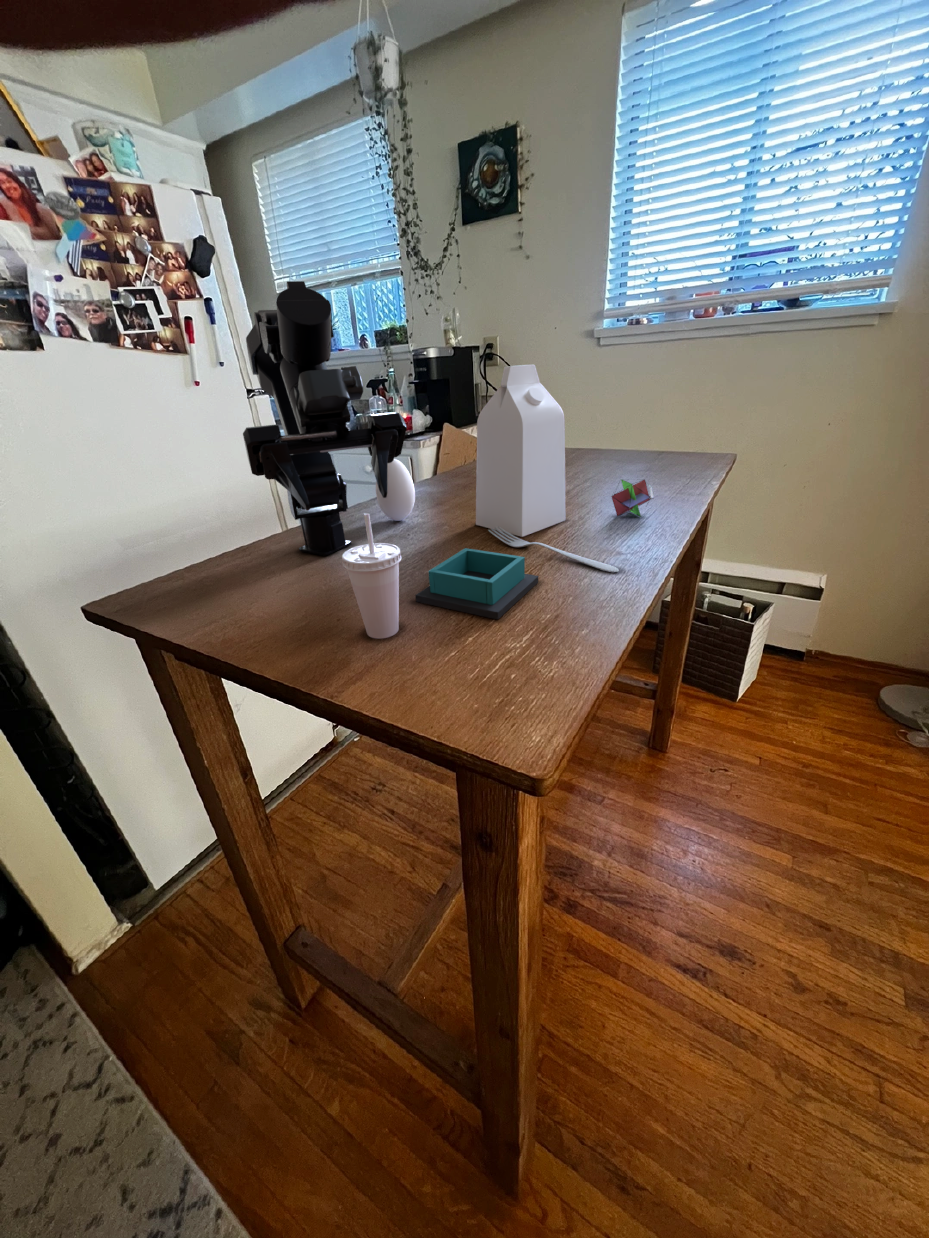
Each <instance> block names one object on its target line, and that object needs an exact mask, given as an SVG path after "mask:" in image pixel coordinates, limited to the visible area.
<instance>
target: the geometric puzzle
mask: <svg viewBox="0 0 929 1238" xmlns="http://www.w3.org/2000/svg"><path fill="white" fill-rule="evenodd" d="M620 482H621V485H622V489H621V490H619V491H618V492H617V489H618V488H615V490H614V493H612V495H611V496H610V498H611V501H612V504H613V507H614V510H615V514H616V517H620V518H621V517H623V518H625V517H626V516H623V515H625V514H627V513H632V514H633V515H636V517H638V518H642V515H641V512H640V508H639V507H641V506H642V505H643V504H646V503H647V504H646V506H648V505H649V503H650V501H652V500H654V498H655V497H654V489H653V487H652V486H651V485H650V483H649V482H648V481H647V480H646V478H644V479H640V480H638V481H637V482H633V483H632V482H629V481H627V480H625V479H623V478H620V480H619V482H618V483H617V486H616V487H619V485H620ZM648 487H649V488H648ZM649 489H650V490H649Z"/></svg>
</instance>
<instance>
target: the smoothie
mask: <svg viewBox="0 0 929 1238" xmlns="http://www.w3.org/2000/svg"><path fill="white" fill-rule="evenodd" d="M370 515H371V514H370V513H368V512H367V513H364V514H363V518H364V523H365V530H366V538H367V543H365V544H360V545H357V546H353V547H351V548H349V549H347V550H345V551H344V552H343V553H342V555H341V561H342V563H341V564H342V567H343V568H345V570H346V572H347V574H348V577H349V581H350V584H351V587H352V590H353V593H354V597H355V600H356V603H357V606H358V609H359V612H360V616H361V619H362V622H363V625H364V628H365V629H364V630H365V631H366V635H367V636H368V637H370V638H372V639H386V638H387V639H388V638H390V637H392V636H395V635H396V634H397V633H398V632H399V625H400V621H399V620H400V618H399V617H400V616H399V615H400V614H399V613H400V612H399V611H400V610H399V607H400V605H399V602H400V600H399V599H400V594H399V593H400V590H399V589H400V588H399V587H400V564H399V563H400V562H401V560H402V555H401V554H402V553H401V548H400V547H399V546H397V545H395V544H392V543H387V542H374V536H373V530H372V523H371V516H370Z"/></svg>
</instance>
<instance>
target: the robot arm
mask: <svg viewBox="0 0 929 1238" xmlns="http://www.w3.org/2000/svg"><path fill="white" fill-rule="evenodd" d="M275 304H276V309H259V310H257V311H253V316H254V317H253V318H254V325H253V326H252V328H251V329H250V331H249V333H248V334H247V336H246V337H245V342H246V350H247V356H248V361H249V367H250V370H251V373H252V376H256V377H257V380H258V384H259V387H260V389H261V390H263V391H264V392H266V393H267V394H268V395H270V396H271V397H273V400H274V404H275V407H276V411H277V413H278V416H279V417H278V418H279V420H280V423H281V426H282V429H283V432H284V435H282V433H281V429H280V426H279V424H278V423H276V424H268V425H266V424H265V425H257V426H250V427H249V426H248V427H245V429H244V431H243V432H242V437H243V442H244V446H245V451H246V457H247V460H248V464H249V467H250V472H251V475H254V476H257V477H260V476H264V478H265V479H266V480H270V481H271V480H275V481H276V482H277V483H279V485H281V486H282V487H283V488H284V489H286V491H287V501H288V506H289V509H290V513H291V515H292V517H293V519H294V520H295V521H298V520H299V521H300V526H301V531H302V535H303V539H304V544H305V545H302V546H300V547H299V548H298V551H299V552H303V553H308V554H313V555H318V556H323V557H324V556H326V557H327V556H328V555H331V554H333V553H335V552H338V551H340V550H342V549H344V548H346V547H349V546H350V545H352V540H347V539H346V537H345V531H344V525H343V521H342V520H341V515H340V513H342V512H343V513H345V512H347V510H348V509H349V505H348V498H347V496H348V495H347V493H348V492H347V491H348V490H347V489H348V487H347V482H346V481H345V480H344V479H343V477H342V474H341V473H338V472H337V469H336V467H335V464H334V461H333V458H332V455H331V453H330V452H339V451H347V450H354V449H361V448H362V449H363V448H367V451H368V452H369V456H370V457H371V459H370V464H371V468H372V471H373V474H374V477H375V482H376V481H377V484H378V487H379V491H380V493H381V494H382V496H383V498H386V497H387V472H388V463H391V462H392V461H393V460H394V459H395V458H397V457H400V455H402V452H403V447H404V442H405V437H406V434H407V429H408V428H407V424H406V421H405V419H404V416H403V415H402V414H400V412H396V411H394V412H384V413H376V414H369V416H368V422H367V423H368V425H367V428H359V429H349V426H348V424H347V423H350V422H351V415H352V414H351V412H350V408H349V406H348V405H349V403H350V401H360V400H361V399H362V396H363V394H364V383H363V380H362V376H361V374H360V372H359V369H358V367H357V365H352V366H341V367H340V368H328V366H327V363H326V362H329V361H330V359H331V353H332V351H331V350H332V339H333V338H335V335H334V330H333V326H332V305H331V302H330V300H329V299H327V298H326V297H325V296H324V295H323V294H321V293H320V292H318V291H317V290H314V289H311V288H309V287H307V286H306V282H305V280H300V281H299V280H298V281H297V280H293V281H291V280H290V281H289V280H287V281H286V289H283V290H282V291H280V293H279V294H278V296H277V298H276V301H275Z"/></svg>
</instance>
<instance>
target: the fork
mask: <svg viewBox="0 0 929 1238" xmlns="http://www.w3.org/2000/svg"><path fill="white" fill-rule="evenodd" d="M498 528H499V529H500V530H502V531H503V532H502V531H500V530H498V529H497V528H495V529H496V530H494V529H491V528H490V529H487V531H488V532H489V533H490V534H492V535H493V536H494V537H495V538H497V539H498V540H500V541H502V542H503V543H504V544H506V545H508V546H510V547H512V548H524V547H527V546H533V545H534V546H540V547H543V548H545V549H547V550H550V551H551V552H552V551H553V552H555V553H556V554H559V555H562V556H564V557H566V558H568V559H571V560H574V561H576V562H579V563H581V564H583V565H584V564H585V565H586V566H590V567H593V568H595V569H598V570H601V571H603V572H609V573H618V572H619V571H620V570H619V568H618V567H616V566H614V565H611V564H609V563H604V562H601V561H598V560H594V559H590V558H587V557H584V556H580V555H577V554H574V553H571V552H568V551H565V550H562V549H559V548H556V547H554V546H551V545H548V544H545V543H542V542H538V541H532V542H529V541H527V540H524V539H522V538H520V537H518V536H516V535H513V534H510V533H508V532H506V531H505V530H503V529H502V528H500V527H499V526H498Z"/></svg>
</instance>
